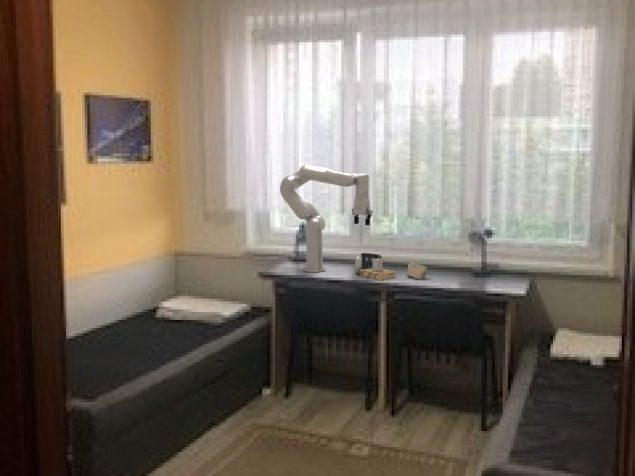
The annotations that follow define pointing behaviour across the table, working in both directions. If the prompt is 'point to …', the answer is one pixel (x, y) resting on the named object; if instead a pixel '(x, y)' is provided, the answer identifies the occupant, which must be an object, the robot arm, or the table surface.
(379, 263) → the square bit
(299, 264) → the table surface
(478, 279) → the table surface
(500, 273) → the table surface
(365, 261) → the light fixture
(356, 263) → the round bit
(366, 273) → the bore block
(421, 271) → the decorative stone
